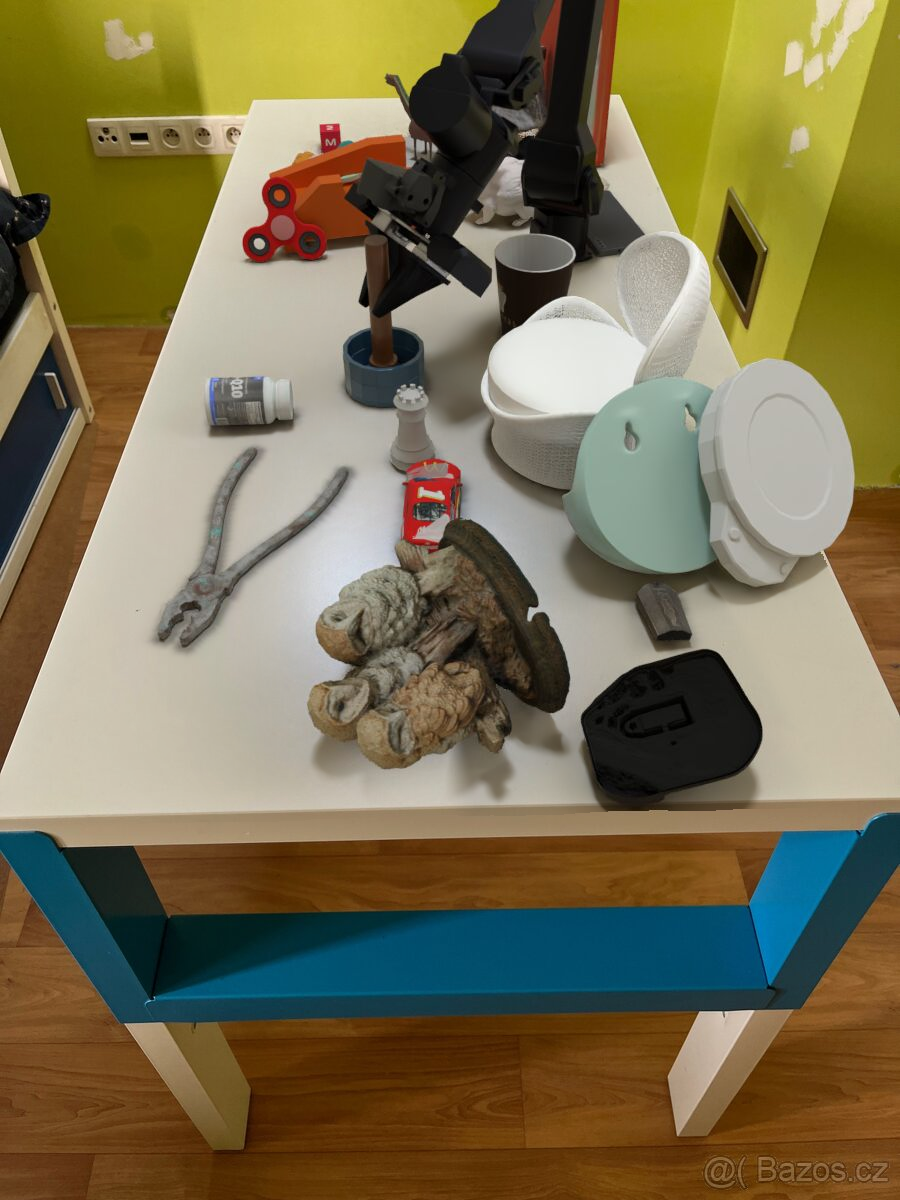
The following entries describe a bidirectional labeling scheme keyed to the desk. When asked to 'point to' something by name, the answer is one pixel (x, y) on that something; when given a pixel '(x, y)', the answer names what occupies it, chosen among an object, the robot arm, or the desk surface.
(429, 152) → the dinosaur
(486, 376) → the chair
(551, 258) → the coffee mug
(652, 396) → the planter
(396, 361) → the brown rod with base
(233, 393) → the pill bottle
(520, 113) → the fossil
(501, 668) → the owl figurine
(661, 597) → the block
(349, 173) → the tape dispenser
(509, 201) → the figurine
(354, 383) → the bowl
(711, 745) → the black plastic housing
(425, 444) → the rook chess piece
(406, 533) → the race car
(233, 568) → the pliers
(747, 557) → the lid
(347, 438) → the desk surface
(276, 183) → the toy
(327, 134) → the red letter cube
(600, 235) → the smartphone
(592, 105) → the file binder
